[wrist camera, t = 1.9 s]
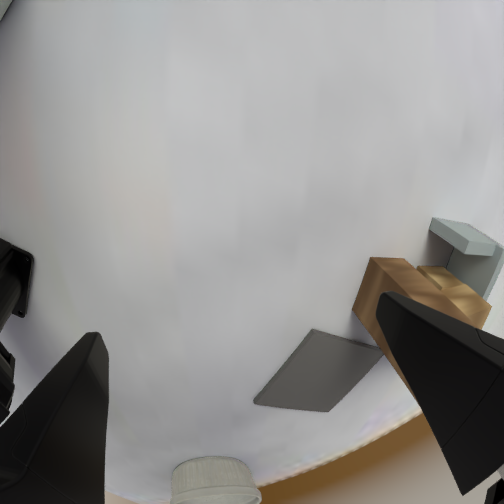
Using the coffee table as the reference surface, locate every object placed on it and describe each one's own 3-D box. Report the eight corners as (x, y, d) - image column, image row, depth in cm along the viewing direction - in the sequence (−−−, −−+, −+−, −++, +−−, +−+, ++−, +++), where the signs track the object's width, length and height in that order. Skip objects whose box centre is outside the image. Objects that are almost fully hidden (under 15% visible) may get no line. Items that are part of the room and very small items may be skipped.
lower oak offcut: (403, 299, 29) (425, 323, 26) (417, 265, 27) (442, 287, 24) (428, 298, 30) (450, 319, 27) (442, 266, 28) (466, 286, 25)
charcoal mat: (326, 408, 36) (328, 412, 35) (253, 399, 31) (254, 404, 31) (383, 348, 32) (385, 352, 32) (312, 328, 28) (314, 332, 27)
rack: (384, 338, 31) (411, 376, 26) (432, 217, 25) (477, 246, 20) (422, 333, 33) (449, 365, 28) (468, 224, 27) (508, 250, 21)
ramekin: (266, 452, 39) (278, 491, 33) (234, 483, 44) (242, 515, 37) (177, 448, 34) (181, 493, 28) (160, 479, 39) (163, 515, 33)
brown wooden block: (351, 309, 28) (426, 416, 17) (370, 257, 26) (468, 359, 14) (384, 307, 29) (460, 402, 18) (403, 258, 27) (498, 348, 15)
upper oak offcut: (426, 325, 26) (449, 351, 22) (439, 290, 24) (466, 316, 21) (453, 316, 27) (476, 340, 23) (465, 283, 25) (491, 306, 21)
